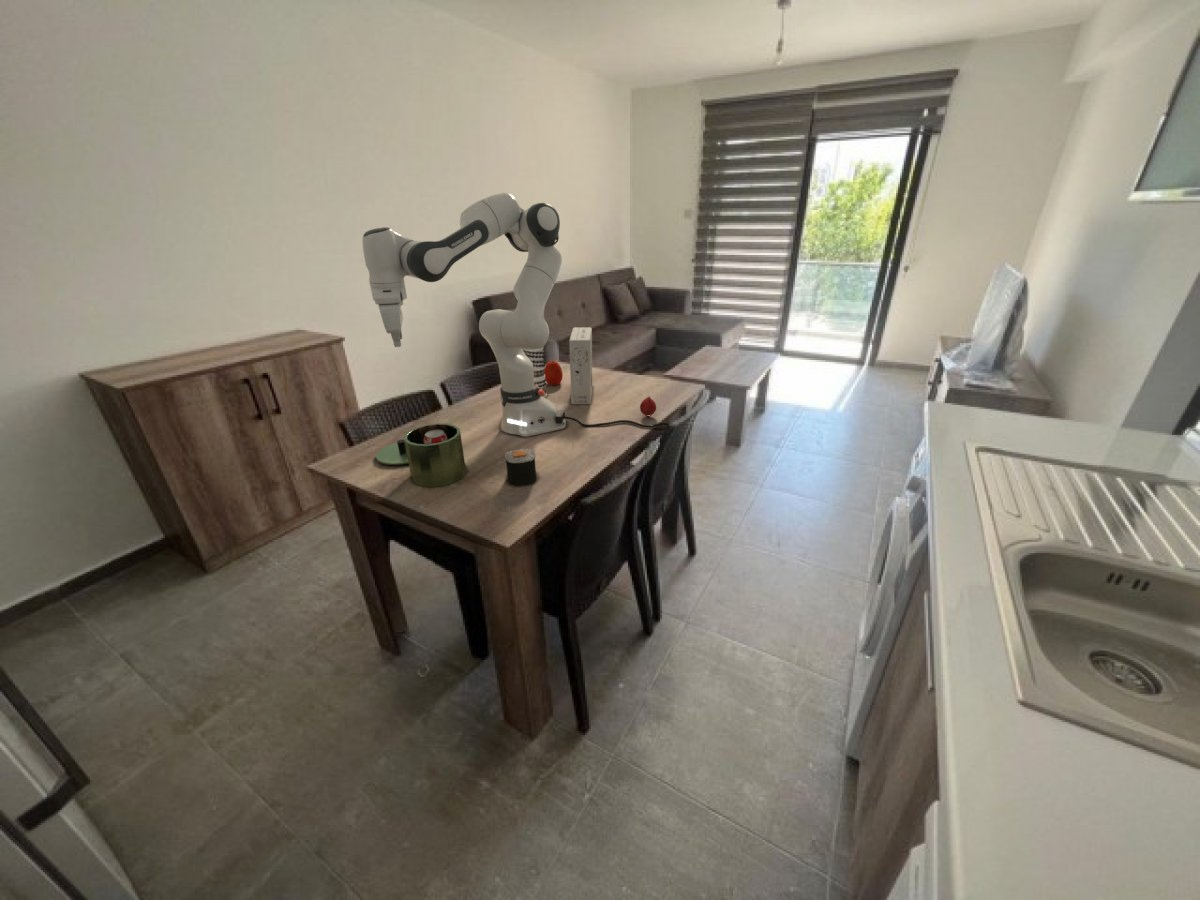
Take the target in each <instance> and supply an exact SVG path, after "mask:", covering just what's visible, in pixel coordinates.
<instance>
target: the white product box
mask: <svg viewBox="0 0 1200 900" xmlns="http://www.w3.org/2000/svg"><path fill="white" fill-rule="evenodd" d="M592 330H593V328H592V327H572V331H571V334H570V337H569V340H568V341H569V370H570V371H569V372H570V374H569V375H570V403H571V405H591V404H592V396H593V395H592V393H593V331H592Z"/></svg>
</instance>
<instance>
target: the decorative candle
mask: <svg viewBox="0 0 1200 900" xmlns="http://www.w3.org/2000/svg"><path fill="white" fill-rule="evenodd" d="M523 351H524V353H525V355H526V356H527V357H528V358H529V359H530V360H531V362H532V364H533V367H534V382H535V385H537V386H538V387H540V388H541V389H542V390H543V391H544V393H545V394H544V396H543V397H544V398H546V397H547V396H548V394H547V392H548V390H547V388H548V387H547V386H546V385H547V382H546V379H545V374H544V369H545V366H546V365H547V363H546V359H544V358H545V357H546V355H545V353H546V350H544V346H543V347H542V348H540V349H531V350H525V349H523Z"/></svg>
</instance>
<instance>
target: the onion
mask: <svg viewBox="0 0 1200 900" xmlns="http://www.w3.org/2000/svg"><path fill="white" fill-rule="evenodd" d="M639 409H640V413H641V414H642V415H644V416H645V417H647V418H650V417H651V416H652V415H653V414H655V412H656V411H657V404H656V402H655V400H654V399H652V397H651V396H650V395H649V396H646V398H644V399H643V400H642V401H641V403H640V404H639ZM646 415H650V416H646Z"/></svg>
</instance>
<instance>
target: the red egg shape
mask: <svg viewBox="0 0 1200 900" xmlns="http://www.w3.org/2000/svg"><path fill="white" fill-rule="evenodd" d="M544 374H545V379H546V381H545V382H546V384H548V385H551V386H558V385H560V384H561V382H562V380H563V368H562V367H561V365H560V364H559V362H558V361H555V360H549V361H547V363H546V365H545V369H544Z"/></svg>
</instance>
